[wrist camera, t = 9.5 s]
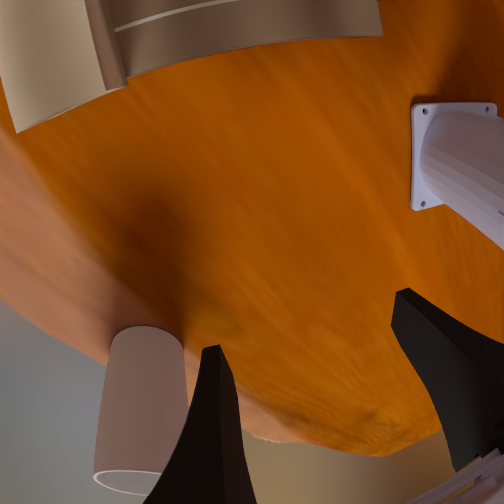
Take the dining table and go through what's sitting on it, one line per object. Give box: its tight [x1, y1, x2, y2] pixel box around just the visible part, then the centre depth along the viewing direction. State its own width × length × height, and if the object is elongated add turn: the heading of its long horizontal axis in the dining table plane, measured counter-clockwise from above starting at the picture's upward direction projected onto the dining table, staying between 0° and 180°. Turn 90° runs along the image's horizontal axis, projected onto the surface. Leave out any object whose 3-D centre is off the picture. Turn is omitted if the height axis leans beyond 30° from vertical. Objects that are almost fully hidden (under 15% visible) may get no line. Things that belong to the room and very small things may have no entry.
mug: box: [93, 326, 189, 496], centre depth 20 cm, size 10×7×12 cm, turn 132°
